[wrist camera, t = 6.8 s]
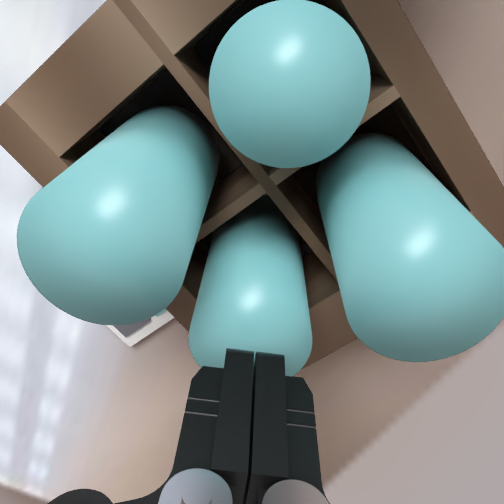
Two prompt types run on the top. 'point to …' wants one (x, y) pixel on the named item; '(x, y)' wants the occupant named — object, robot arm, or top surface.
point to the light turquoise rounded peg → (253, 291)
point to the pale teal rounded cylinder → (122, 219)
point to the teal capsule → (289, 83)
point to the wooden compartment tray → (250, 172)
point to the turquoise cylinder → (407, 253)
